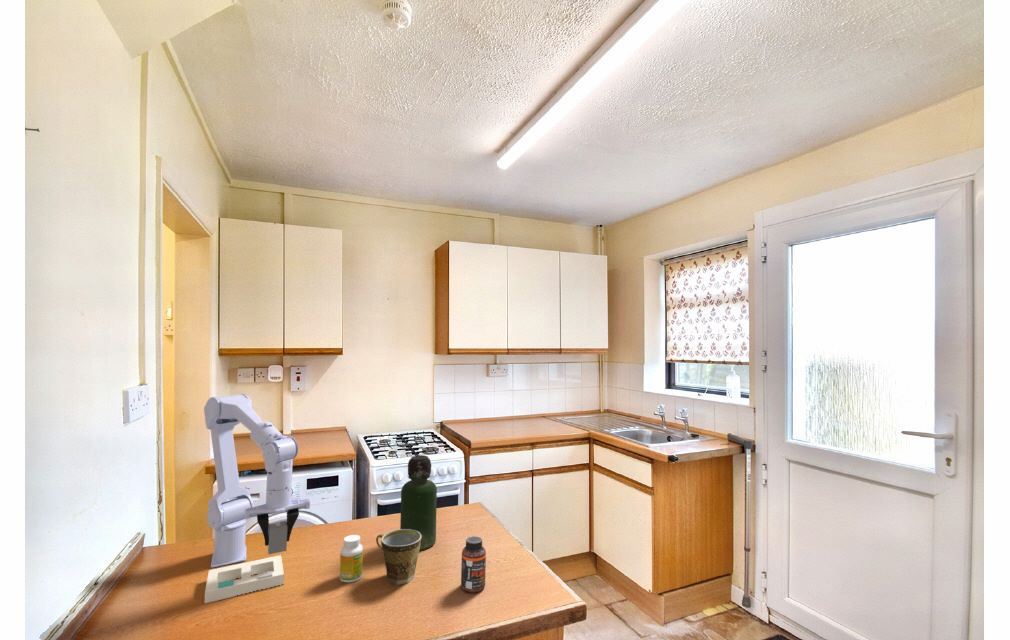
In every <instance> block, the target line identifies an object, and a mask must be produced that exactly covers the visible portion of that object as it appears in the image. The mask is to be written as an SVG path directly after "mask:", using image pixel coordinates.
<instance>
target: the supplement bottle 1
mask: <svg viewBox="0 0 1010 640" xmlns="http://www.w3.org/2000/svg"><path fill="white" fill-rule="evenodd" d="M363 547H364V546H363V545H362V543H361V536H360V535H359V534H350V535H347V536H345V537H344V538H343V546H342V547H341V548H340V556H339V557H340V558H339V559H340V562H339V563H340V564H339V579H340V581H341V582H343V583H354V582H357V581H358V580H360V579H361V578H362V577H363V564H364V563H363V559H364V556H363V555H364V548H363Z"/></svg>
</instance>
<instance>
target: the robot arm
mask: <svg viewBox="0 0 1010 640" xmlns="http://www.w3.org/2000/svg"><path fill="white" fill-rule="evenodd" d="M203 412H204V413H203V414H204V421H205V428H206V429H207V430H210V438H211V444H212V452H213V460H214V468H215V475H216V484H217V492H216V493H215V494H214V495H213V496H212V497H211V498H210V499H209V500H208V502H207V515H206V519H207V520H206V521H207V523H208V526H209V527H210V528H211V529H213V530H214V537H213V538H214V540H213V542H214V543H213V551H212V556H211V563H210V568H212V569H213V568H217V567H223V566H226V565H227V566H228V565H231V564H232V565H233V564H237V563H240V562H242V563H243V562H245V561H246V560H247V545H246V527H247V526H246V525H247V523H249V519H250V518H255V517H256V522H257V524H258V525H259V526H258V527H260V529H261V532H262V535H263V537H264V546H265V547H266V546H267V547H268V543H269V540H268V526H269V523H270V518H269V515H272V514H279V513H285V512H286V522H287V542H290V538H291V534H292V531H293V529H294V525H295V523H296V522H297V520H298V518H299V516H300V510H303V509H304V510H309V509H310V508H311V500H310V498H305V499H304V498H303V499H292V487H293V482H292V481H293V463H294V462H293V460H294V459H296V458H297V456H298V454H299V444H298V442H297V440H296V439H295V437H293V436H287V435H283V434H282V433H281V432H280V431H279V429H277V428H276V427H275V426H274V425H273V423H272V422H271V421H263V420H262V419H261V418H260V416H259V415H258V413H256V411H255V410H254V409H253V401H252V399H251V398H250V397H249V396H248V394H246V393H241V394H236V395H225V396H218V397H217V396H212V397H209V398H208V400H207V401H206V403H205V405H204V408H203ZM239 424H242V426H244V427H245V428H247V430H248V431H250V433H249V434H250V435H249V437H250V440H252V441H253V442H254V443H255V445H257V447H259V449H260V450H261V451H262V452H261V453H262V459H263V462H264V469H265V470H264V471H266V491H265V492H266V494H265V503H264V504H261V505H257V506H255V504H254V501H253V499H252V496H251V494H250V493H251V492H250V490H249V489H248V488H245V487H243V486H241V484H240V477H239V470H238V469H239V468H238V461H237V455H236V447H235V446H236V445H235V440H234V438H235V437H234V431H233V430H234V429H235V426H237V425H239Z"/></svg>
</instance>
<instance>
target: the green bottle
mask: <svg viewBox="0 0 1010 640" xmlns="http://www.w3.org/2000/svg"><path fill="white" fill-rule="evenodd" d="M431 473H432V461H431V459H430V458H429V456H428V455H423V454H421V455H413V456H411V458H410V459H409V460H408V463H407V475H408V479H410V480H408V481H406V482H405V483H404V484H403V486H402V487H401V491H400V519H399V520H400V522H399V523H400V526H399V527H400V529H411V530H415V531H418V532H419V533H420V534H421V544H420V549H419V551H421V550H425V549H428V548H431V547H432V546H434V545H435V543H436V541H437V501H438V500H437V499H438V498H437V497H438V496H437V495H438V493H437V491H438V490H437V485H436V484H435V482H433V481H432V480H430V479H429V478H430V477H431ZM400 529H399V530H400Z"/></svg>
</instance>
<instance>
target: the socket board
mask: <svg viewBox="0 0 1010 640" xmlns="http://www.w3.org/2000/svg"><path fill="white" fill-rule="evenodd" d="M282 560H283V559H282V555H281V554H279V555H275V556H271V557H266V558H261V559H256V560H250V561H246V562H242V563H238V564H237V563H235V564H232V565H227V566H221V567H219V568H217V567H216V568H212V569H209V570H208V571H207V572H208V573H207V574H208V575H207V577H206V578H207V579H206V585H205V591H204V604H208V603H213V602H216V601H220V600H225V599H229V598H234V597H237V595H238V596H241V594H242V595H246V594H245V593H247V594H250V593H249V592H251V593H254V592H253V591H255V592H257V591H256V590H259V591H262V590H261V589H263V590H267V589H271V588H270V587H272V588H275V587H274V586H276V587H279V586H278V585H280V586H283V585H282V584H284V583H285V582H284V580H285V579H284V577H285V572H284V566H283V565H284V564H283V561H282ZM272 570H273V571H272ZM267 571H269V572H267ZM263 572H265V573H263ZM259 573H260V574H259ZM253 574H257V575H253ZM251 575H252V576H251ZM239 577H241V578H239ZM236 578H239V579H236ZM232 579H233V580H232ZM228 580H229V581H228ZM223 581H224V582H223ZM219 582H220V583H219ZM266 588H267V589H266Z"/></svg>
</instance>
